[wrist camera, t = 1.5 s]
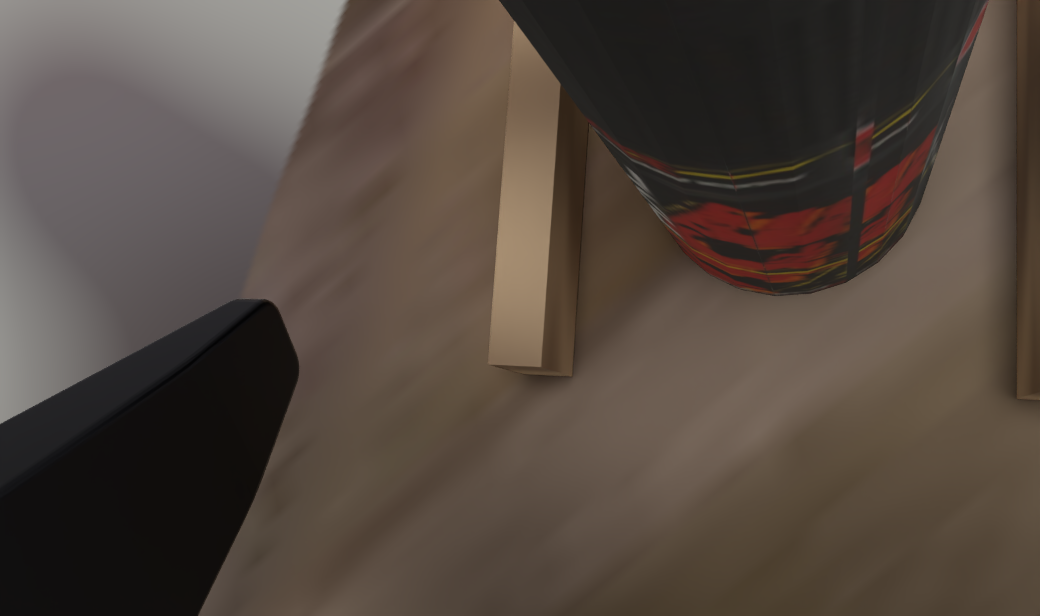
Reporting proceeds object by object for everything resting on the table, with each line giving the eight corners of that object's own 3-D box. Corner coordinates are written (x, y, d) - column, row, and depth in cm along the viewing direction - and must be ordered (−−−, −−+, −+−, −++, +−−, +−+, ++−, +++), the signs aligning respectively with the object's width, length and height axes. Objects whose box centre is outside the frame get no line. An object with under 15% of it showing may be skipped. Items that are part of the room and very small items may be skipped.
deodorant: (607, 207, 22) (226, -211, 8) (752, -1, 22) (609, -801, 8) (821, 347, 20) (793, 106, 6) (985, 121, 20) (1340, -666, 6)
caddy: (1084, 402, 19) (1119, 395, 16) (523, 374, 22) (487, 364, 20) (1079, -119, 20) (1111, -194, 18) (555, -62, 24) (524, -119, 22)
